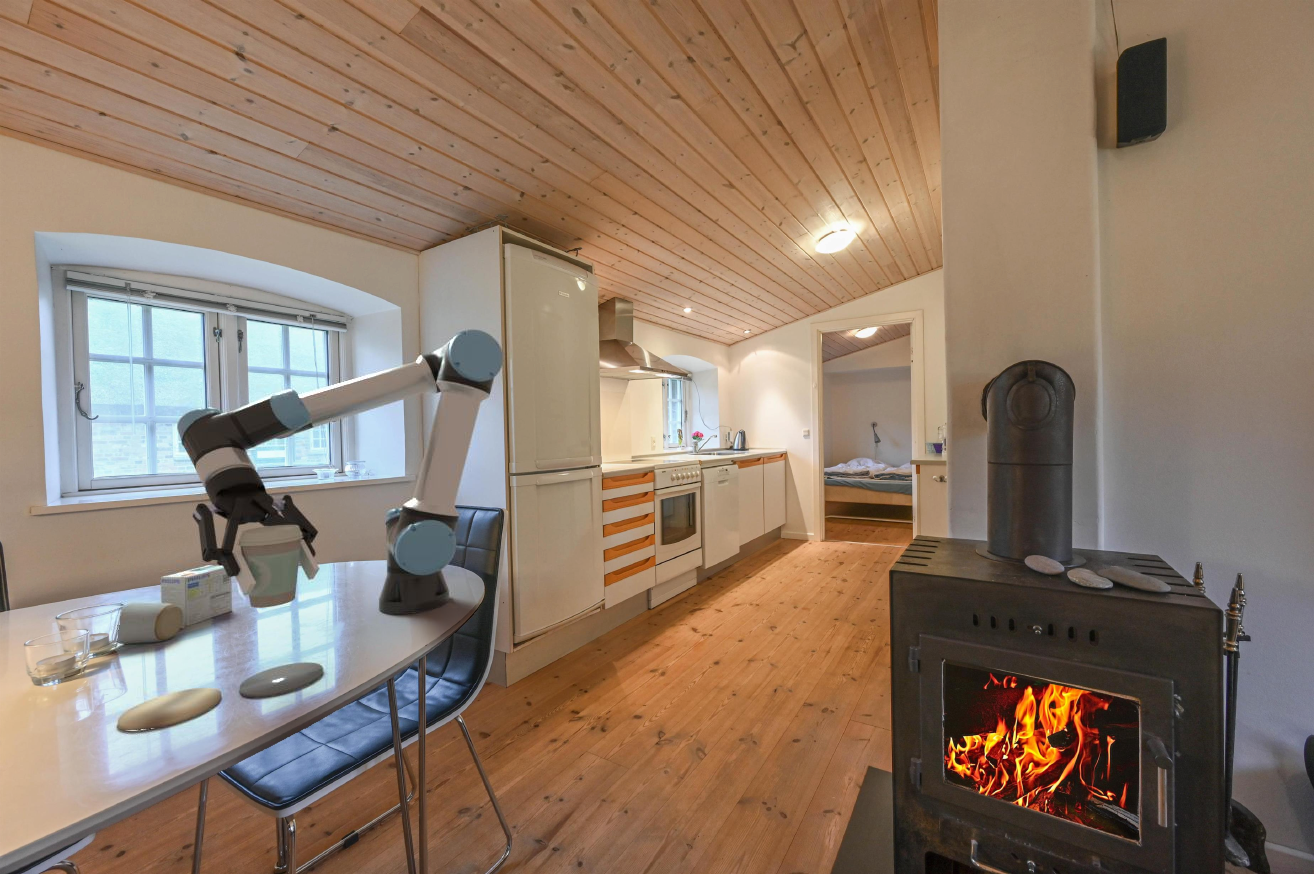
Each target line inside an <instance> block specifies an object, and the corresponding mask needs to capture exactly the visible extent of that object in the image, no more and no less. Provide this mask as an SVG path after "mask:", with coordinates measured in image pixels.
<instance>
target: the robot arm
mask: <svg viewBox="0 0 1314 874" xmlns="http://www.w3.org/2000/svg"><path fill="white" fill-rule="evenodd" d="M503 363H504V354H503V349H502V348H501V345H500V344H499V342H498V341H497V340H496V338H495V337H493V335H491V334H490V333H488V332H486V331H484V330H479V329H466V330H463V331H460V332H457V333H456V334H454V335H453V336H452V337H451V338H450V340H449V341H448V342H446V343H445V344H444V345H442V346H441V347H439V348H437V349H435V350H433V351H431V352H429V353H425V354H422V355H419V356H418V357H417V359H416V361H412V362H410V363H406V364H403V365H399V366H396V367H392V368H388V369H386V370H381V371H378V372H375V373H371V374H366V375H365V376H364V375H363V376H361V377H357V378H354V379H351V380H346V381H344V382H340V383H336V384H333V385H330V386H327V387H323V388H319V389H316V390H313V391H309V392H304V393H302V394H298V392H297V391H296V390H295V389H291V388H289V389H286V390H283V391H280V392H275V393H272V394H271V395H270V396H267V397H264V398H261V399H259V400H256V401H254V402H251V403H249V404H246V405H243V406H241V407H239V408H236V409H234V410H233V409H232V410H230V411H227V412H224V411H222V410H220V409H219V408H214V407H206V408H201V407H200V408H195V409H193V410H190V411H188V412H186V413H185V414H183V415H182V416H181V418H179V420H178V422H177V424H176V425H177V426H176V427H177V428H176V429H177V432H178V434H179V437H180V441H181V445H182V446H183V447H184V450H185V452H186V453H187V456H188V457H189V459H190V461H191V463H192V464H193V467H194V469H195V471H196V474H197V475H198V477H199V480H200V482H201V483H202V485H203V487H204V488H205V492H206V494H207V496H208V498H209V500H210V503H211V504H209V505H207V504H205V503H197V505H196V507H195V509H194V511H193V514H192V518H193V520H194V521H195V522H196V523H197V526H198V531H199V540H200V551H201V559H202V561H203V562H206V563H210V562H212V561H216V564H217V565H220V566H223V567H224V569H225V571H226V573H227V575H228V576H229V577H231V578H232V577H235V580H236V581H237V583H238V585H239V588H240V589H241V592H242V594H243V596H247V595H248V596H249V594H250V593H251V591H252V590H253V588H254V586H255V584H256V582H255V580H254V578H253V576H252V574H251V572H250V570H249V568H248V566H247V564H246V562H245V560H244V558H243V556H242V552H241V550H235V551H234V547H235V543H236V540H237V539H236V538H237V533H238V530H239V526H242V525H246V524H249V523H251V524H252V523H255V524H257V523H259V524H260V525H262V527H267V526H277V525H298V526H299V528H300V531H301V532H302V536H303V538H301V545H300V555H299V564H300V566H301V569H302V570H303V573H305V575H306V578H307V580H314V579H315V577H316V575H317V574H318V572H319V570H320V567H319V565H318V563H317V561H316V560H315V557H316V550H315V548H314V547H313V545H312V543H313V542H314V540H315V539H316V537H317V536H318V533H319V531H318V530H317V529H316V527H315V526H314V525H313V524H312V523H311V522H310V521H309V519H308V518H307V517H306V516H305V515H304V514H303V513H302V511H300V510H299V508H298V507H297V506H296V505H295V504H294V501H293V498H292V496H291V495H290V494H285V495H283V497H281V498H280V497H278V498H275V497H273V496H271V495H270V494H268V492H267V490H266V486H265V485H264V482H263V481H262V478H261V477H260V475H259V472H257V470H256V467H255V465H254V464H253V462H252V460H251V458H250V457H249V454H248V453H247V451H248V450H250V449H253V448H255V447H257V446H260V445H262V444H264V443H267V442H269V441H272V440H274V439H278V440H280V439H281V440H282V439H285V438H289V437H292V436H294V435H295V434H296V435H297V434H299V433H302V432H305V431H309V430H311V429H314V428H317V427H321V426H323V425H326V424H329V423H332V422H335V421H339V420H342V419H345V418H348V417H352V416H354V415H355V416H356V415H358V414H361V413H364V412H368V411H371V410H374V409H377V408H379V407H380V408H381V407H383V406H386V405H390V404H394V403H396V402H399V401H402V400H406V399H408V398H409V399H410V398H412V397H415V396H418V395H422V394H424V393H432V394H434V395H435V394H438V393H440V396H439V399H438V403H437V406H436V410H435V415H434V417H433V418H434V419H433V422H432V425H431V430H430V434H429V438H428V440H427V445H426V447H425V448H426V449H425V452H424V455H423V459H422V463H421V466H420V471H419V474H418V477H417V482H416V485H415V489H414V493H413V497H412V498H411V499H409V500H408V501H407V502H405V503H403V505H402V508H394V509H393V508H392V509H390V510H388V511H387V512H386V517H385V520H384V521H385V522H384V524H385V525H386V527H385V529H386V531H385V532H386V533H385V534H386V577H385V579H384V583H383V586H382V589H381V592H380V594H379V598H378V599H379V600H378V610H379V611H380V612H382V613H384V612H385V614H392V615H400V614H401V615H402V614H403V615H404V614H405V613H406V614H412V613H413V612H415V613H420V611H421V612H425V610H426V611H430V610H432V608H433V609H436V608H439V607H442V606H443V604H444V603H445V604H447V603H448V602H449V601H450V590H449V587H448V584H447V581H446V579H445V578H446V577H445V576H444V573H443V572H442V570H443V569H445V567H446V566H448V564H450V562H451V561H452V559H453V557H455V553H456V550H457V538H456V530H457V525H458V523H459V518H460V513H459V511H458V509H457V508H456V506H455V504H456V500H457V497H458V493H459V488H460V485H461V481H462V476H463V473H464V470H465V465H466V461H467V458H468V454H469V449H470V447H471V446H470V445H471V441H472V438H473V433H474V431H475V426H476V423H477V419H478V414H479V410H480V407H481V403H482V402H483V401H485V400H487V399H488V398H490V397H491V396H490V395H491V392H492V388H493V385H494V379H495V377H497V375H499V373H500V371H501V369H502V367H503ZM214 515H218V516H219V517H222V518H223V519H225V520H226V524H225V529H224V530H225V531H224V535H223V538H222V543H221V547H218V543H217V542H218V541H217V536H216V530H215V528H216V527H215V522H214ZM448 600H449V601H448ZM447 601H448V602H447ZM446 602H447V603H446ZM445 604H444V605H445ZM441 605H442V606H441ZM438 606H439V607H438ZM435 607H436V608H435ZM429 609H430V610H429Z"/></svg>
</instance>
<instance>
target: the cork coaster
mask: <svg viewBox="0 0 1314 874" xmlns="http://www.w3.org/2000/svg"><path fill="white" fill-rule="evenodd" d="M221 700H222V691H221V689H217V688H216V687H215V688H213V687H198V688H197V687H196V688H190V689H185V690H179V691H174V692H170V693H167V694H164V695H160V696H157V697H154V698H152V699H149V700H146V701H143V702H141V703H139V704H137V705H136V706H133V707H131V708H130V709H127V710H126V711H125V712H123V713H122V714H121V715H120V716H119V717H118V718H117V727H118V729H119V730H121V729H122V730H121V731H124V730H141V729H151V728H157V729H160V728H159V727H161V728H164V726H165V727H168V726H172V725H175V724H180V723H182V722H185V721H188V720H191V719H192V718H195V717H197V716H200V715H202V714H204V713H205V712H208V711H209V710H211V709H213V708H214V707H216V706H217V705H218V704H219V703H220V702H221ZM151 730H152V729H151Z"/></svg>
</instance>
